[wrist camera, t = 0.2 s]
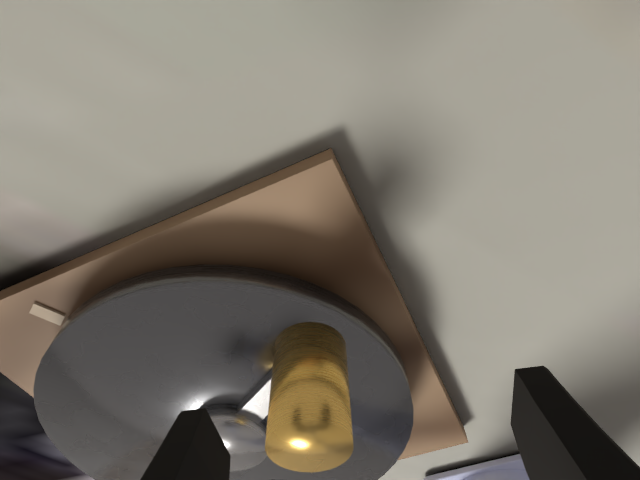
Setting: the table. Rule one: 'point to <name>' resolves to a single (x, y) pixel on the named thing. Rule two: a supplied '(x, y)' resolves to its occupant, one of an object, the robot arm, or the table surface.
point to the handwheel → (226, 376)
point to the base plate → (249, 251)
